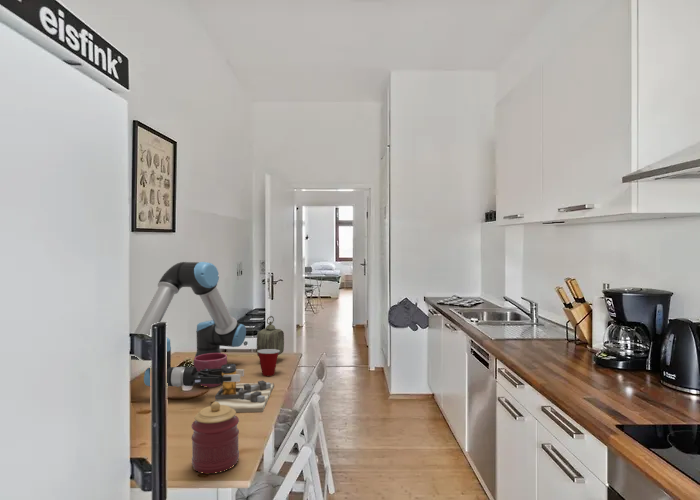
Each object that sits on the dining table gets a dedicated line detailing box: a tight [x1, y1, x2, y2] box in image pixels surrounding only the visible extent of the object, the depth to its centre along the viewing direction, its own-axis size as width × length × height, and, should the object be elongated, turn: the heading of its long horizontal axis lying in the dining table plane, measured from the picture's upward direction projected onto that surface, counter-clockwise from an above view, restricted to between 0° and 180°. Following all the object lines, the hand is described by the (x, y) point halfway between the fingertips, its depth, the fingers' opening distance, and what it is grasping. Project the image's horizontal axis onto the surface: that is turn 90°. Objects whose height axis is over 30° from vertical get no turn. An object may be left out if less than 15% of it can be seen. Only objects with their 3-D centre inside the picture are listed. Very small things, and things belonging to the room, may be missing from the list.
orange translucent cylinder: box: [221, 363, 237, 395], centre depth 174 cm, size 6×6×12 cm
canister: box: [191, 401, 240, 473], centre depth 122 cm, size 13×13×18 cm
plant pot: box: [193, 352, 228, 389], centre depth 193 cm, size 14×14×13 cm
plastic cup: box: [256, 349, 280, 377], centre depth 208 cm, size 11×11×12 cm
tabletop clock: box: [256, 315, 285, 358], centre depth 230 cm, size 14×9×25 cm, turn 160°
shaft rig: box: [214, 379, 275, 414], centre depth 175 cm, size 30×20×4 cm
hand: (241, 375), depth 175 cm, fingers open, 6 cm apart
